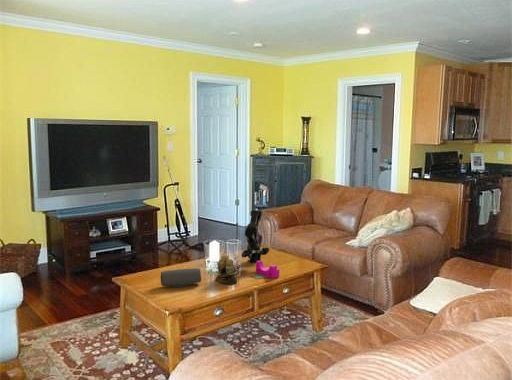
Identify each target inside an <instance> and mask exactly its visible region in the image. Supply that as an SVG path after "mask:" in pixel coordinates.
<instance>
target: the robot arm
mask: <svg viewBox="0 0 512 380" xmlns="http://www.w3.org/2000/svg"><path fill="white" fill-rule="evenodd" d="M249 215H250V220H249V223H248V224H247V226H246V228H245V230H244V236H245V240H246V243H247V245H246V249H243V250H242V253H241V257H242V258H249V259H247V261H248V262H249V263H251V264H254V263H256V261H259V260H261V258H262V256H265V255H267V254H268V253H269V252H270V248H269V247H268V246H267V247H262V249H261V247H260V245H259V242H258V234H259V226H260V225H259V223H260V222H261V220H262V217H263V211H262V210H261V209H259V210H258V209H252V210H250V214H249ZM261 261H262V260H261Z"/></svg>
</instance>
